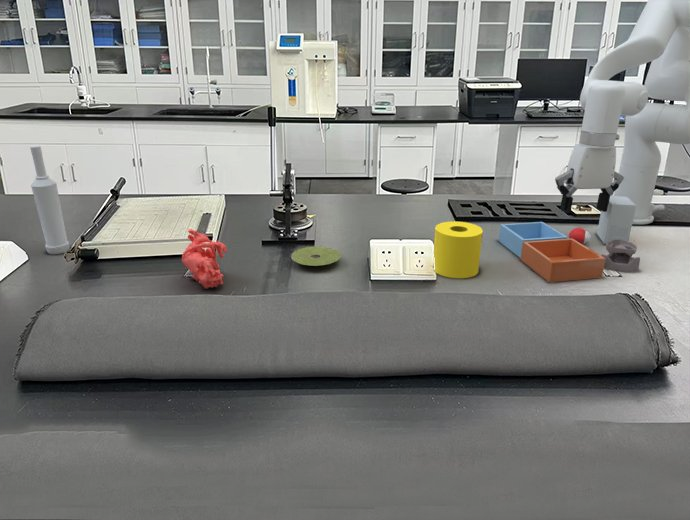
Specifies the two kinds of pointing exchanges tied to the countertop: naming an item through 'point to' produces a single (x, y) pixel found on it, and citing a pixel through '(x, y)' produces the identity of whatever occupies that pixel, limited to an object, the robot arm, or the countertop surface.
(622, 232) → the small box
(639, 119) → the robot arm
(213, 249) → the anatomical heart
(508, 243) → the blue bin
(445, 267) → the tape roll
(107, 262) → the countertop surface
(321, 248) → the green sanding disc
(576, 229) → the molecule
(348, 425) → the countertop surface
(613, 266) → the dental mold
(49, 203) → the bottle
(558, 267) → the bin
